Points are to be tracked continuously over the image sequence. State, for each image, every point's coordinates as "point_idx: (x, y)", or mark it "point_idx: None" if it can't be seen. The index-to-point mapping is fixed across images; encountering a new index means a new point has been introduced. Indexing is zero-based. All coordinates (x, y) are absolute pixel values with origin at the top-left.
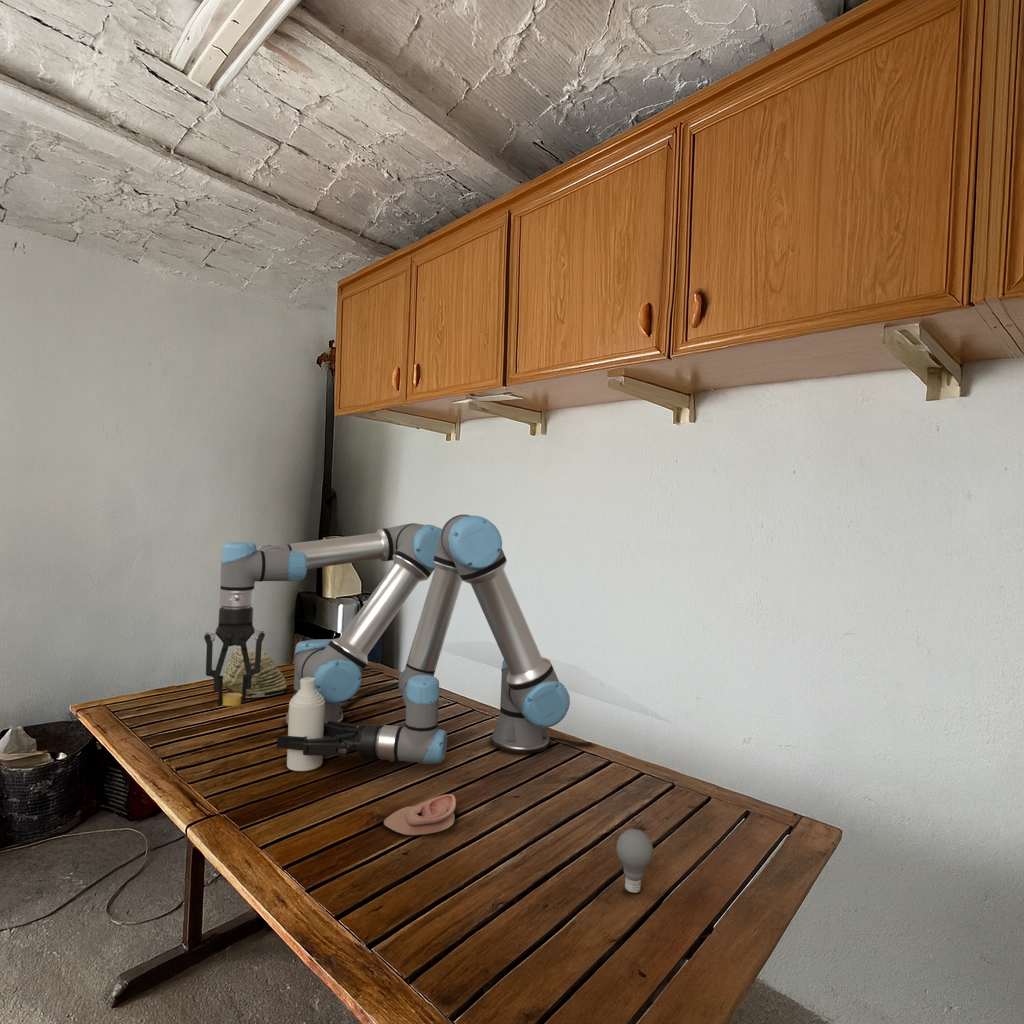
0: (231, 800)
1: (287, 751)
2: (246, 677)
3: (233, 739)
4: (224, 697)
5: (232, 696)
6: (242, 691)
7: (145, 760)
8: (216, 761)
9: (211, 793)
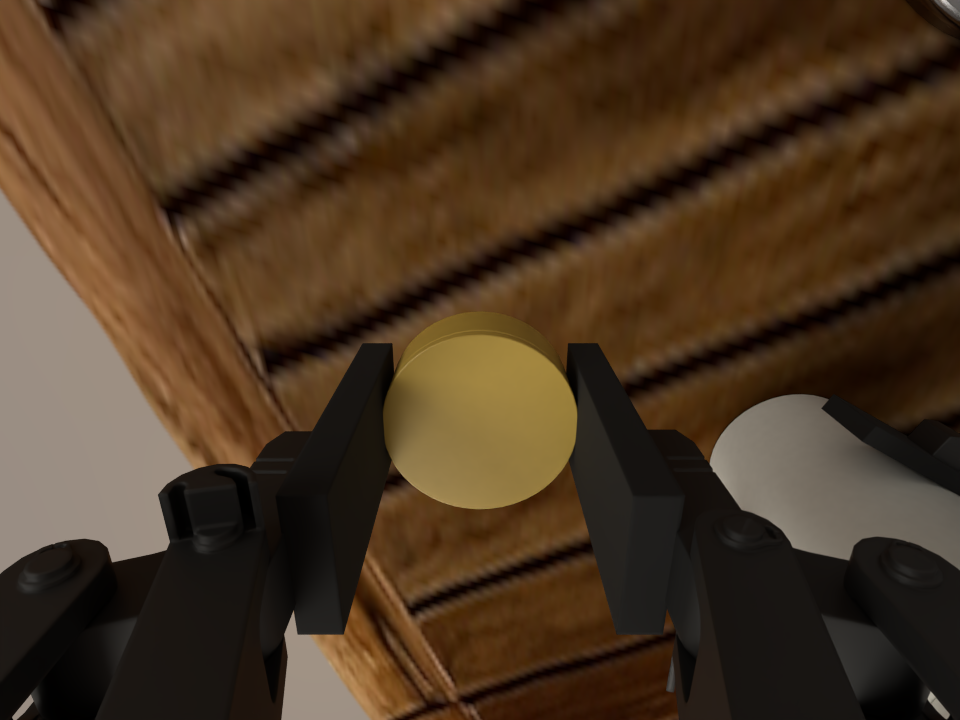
0: (490, 646)
1: (736, 502)
2: (659, 629)
3: (501, 17)
4: (410, 466)
5: (483, 450)
6: (582, 452)
7: (90, 213)
8: (424, 325)
9: (426, 590)
